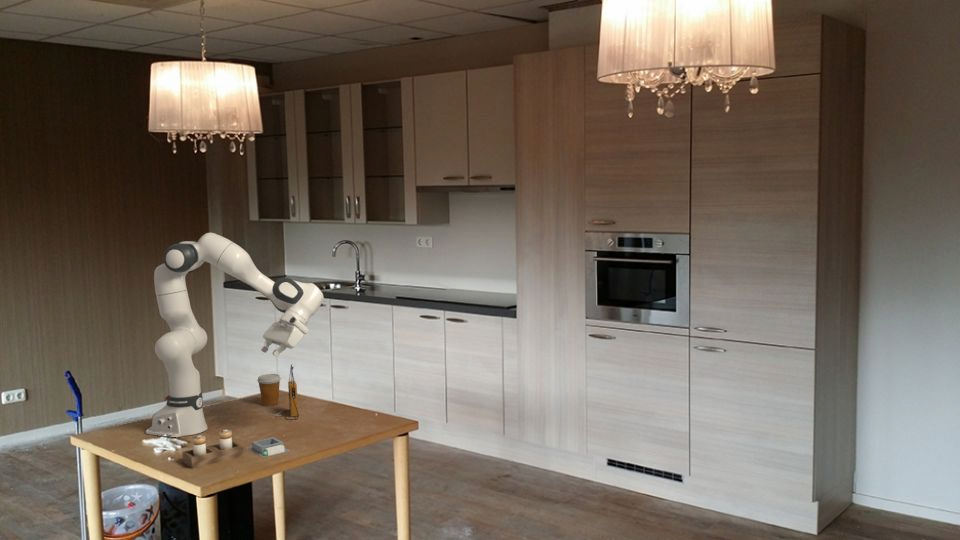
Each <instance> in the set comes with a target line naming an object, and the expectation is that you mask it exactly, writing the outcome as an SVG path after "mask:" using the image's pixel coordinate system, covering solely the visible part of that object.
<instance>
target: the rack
mask: <svg viewBox="0 0 960 540" xmlns="http://www.w3.org/2000/svg"><path fill="white" fill-rule="evenodd" d="M244 453H245V451H244V445H242V444H240V443H239V442H237V441H235V440H232V448H229V449H224V450H220V443H216V444H212V445H208V446H207V445H206V454H203V455H199V456H194V454H193V449H189V450H185V451H182V463H183V464H185V465H186V466H188V467H189V468H190V469H197V468H201V467H205V466H210V465H213V464H218V463H221V462H227V461H231V460H234V459H239V458H243V457H244V456H245V454H244Z"/></svg>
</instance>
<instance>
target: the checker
mask: <svg viewBox="0 0 960 540" xmlns="http://www.w3.org/2000/svg"><path fill="white" fill-rule="evenodd" d="M284 444H285V443H284V442H283V441H282V440H280V439H277V438H276V437H274V436H272V437H268V438H264V439H259V440H255V441H251V446H248V447H247V446H246V449H247V450H249V451H251V452H253V453H254V454H256V455H258V456H260V457H261V458H266V457H270V456H274V455H275V456H276V455H279V454H282V453H283V454H284V453H287V452H291V450H290V449H288V448H286V447H285V445H284Z"/></svg>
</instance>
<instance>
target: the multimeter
mask: <svg viewBox="0 0 960 540" xmlns="http://www.w3.org/2000/svg"><path fill="white" fill-rule="evenodd" d="M293 369H294V366H293V364H292V363H291V364H290V371H289V375H290V378H289V379H288V382H287V385H288V386H287V387H288V401H289V403H288V404H289V406H288V407H289V409H287V410H281V411H280V412H278V413H276V414H274V416H275V417H283V415H281V414H282V413H284V412H288V411H289V415H290V417H291V418H292V419H291V418H286V415H284V419H285V420H288V421H296V420H298V419H299V406H298V387H297V382H296V380H295V379H294V378H295V377H294V373H293ZM296 417H297V418H296Z"/></svg>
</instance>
